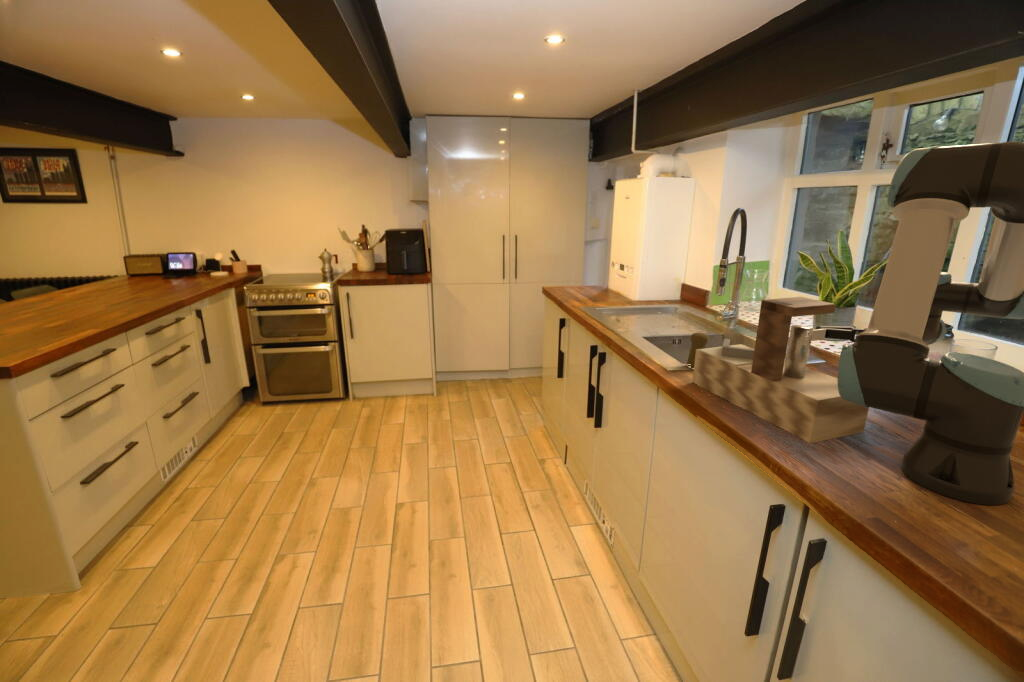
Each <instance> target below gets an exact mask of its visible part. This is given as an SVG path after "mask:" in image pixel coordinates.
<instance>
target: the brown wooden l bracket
mask: <svg viewBox="0 0 1024 682" xmlns="http://www.w3.org/2000/svg"><path fill="white" fill-rule="evenodd" d="M760 303H761V304H760V308H759V309H760V311H759V318H758V323H757V329H756V330H757V331H756V336H755V344H754V348H753V349H754V356H753V363H752V370H751V373H753V374H756V375H758V376H761V377H763V378H765V379H768V380H770V381H773V382H774V381H780V380H781V379H782V373H783V367H784V361H785V360H786V355H787V349H788V343H789V337H790V331H791V326H792V319H793V318H794V317H803V316H805V317H806V316H816V315H824V314H825V315H826V314H834V313H835V311H836V306H837V305H836V304H837V303H833V302H828V301H823V300H818V299H813V298H809V297H808V298H807V297H804V296H796V297H784V298H783V297H782V298H771V299H762V300H761V301H760Z"/></svg>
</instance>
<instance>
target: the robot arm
mask: <svg viewBox="0 0 1024 682" xmlns="http://www.w3.org/2000/svg"><path fill="white" fill-rule="evenodd" d="M886 199H887V200H886V204H887V206H888V207H889V208H891V209H893V210H892V215H893V216H894V218H896V219H897V221H898V224H897V227H896V231H895V235H894V238H893V242H892V245H891V248H890V251H889V255H888V259H887V261H886V266H885V267H884V272H883V276H882V279H881V282H880V285H879V289H878V292H877V295H876V298H875V303H874V306H873V309H872V312H871V316H870V320H869V323H868V326H867V328H866V327H864V328H858V327H856V326H855V325H850V326H849V325H848V326H843V325H841V326H840V325H839V326H835V325H816V327H815V329H813V333H812V338H811V342H815V341H823V340H825V339H835V340H843V341H845V340H846V341H850V342H851V343H845V344H843V345H842V348H841V351H840V355H839V359H838V366H837V377H836V378H837V384H838V392H839V395H840V396H841V397H842V398H843V399H844V400H846V401H848V402H852V403H856V404H859V405H863V406H864V407H866V408H867V407H869V408H873V409H875V410H878V411H883V412H889V413H891V414H897V415H900V416H905V417H908V418H909V417H910V418H912V419H913V418H914V419H917V420H922V421H924V422H925V424H924V427H923V430H922V433H921V434H920V436H919V437H918V438H917V439H916V440H915V442H914V443H913V444H912V445H911V446H910V448H909V450H908V451H907V452H906V453H905V454H904V455H903V459H902V462H901V470H902V472H903V473H904V474H905V475H906V476H907V477H908V478H909V479H910V480H912V481H914V482H915V483H917V484H918V485H920V486H922V487H925V488H926V489H928V490H930V491H933V492H935V493H937V494H941V496H942V495H943V496H945V497H949V498H951V499H952V498H953V499H955V500H958V501H962V502H966V503H973V504H979V505H988V506H996V505H997V506H999V505H1000V506H1001V505H1004V504H1007V503H1010V501H1011V500H1012V498H1013V495H1014V492H1015V490H1016V489H1015V488H1016V487H1015V481H1014V480H1015V479H1014V474H1013V467H1012V460H1011V453H1012V450H1013V447H1014V445H1015V441H1016V437H1017V434H1018V431H1019V428H1020V425H1021V422H1022V418H1023V416H1024V371H1022V370H1020V369H1018V368H1016V367H1014V366H1012V365H1010V364H1007V363H1004V362H1001V361H999V360H995V359H992V358H988V357H984V356H980V355H975V354H971V353H966V352H965V353H964V352H963V353H961V352H953V351H952V352H946V353H944V354H943V356H941V357H940V359H939V358H933V357H928V356H929V353H930V346H929V345H933V344H936V343H939V342H941V341H943V339H944V338H945V337H946V335H947V331H948V330H947V326H946V322H945V321H944V320H942V315H943V312H948V313H949V312H950V313H959V314H965V315H967V314H968V315H976V316H981V317H983V316H984V317H992V318H996V319H997V318H998V319H1010V320H1011V319H1014V320H1023V319H1024V142H1022V141H1021V142H1020V141H1003V142H994V143H993V142H991V143H979V144H978V143H976V144H963V145H961V144H960V145H949V146H948V145H946V146H940V145H934V146H931V147H923V148H916V149H912V150H910V151H909V152H908V153H906V154H905V155H904V156H903V157H902V159H901V160H900V162H899V163H898V165H897V168H896V169H895V172H894V174H893V176H892V179H891V181H890V186H889V189H888V193H887V197H886ZM971 208H990V212H991V214H992V216H993V217H994V222H993V225H992V230H991V232H990V237H989V241H988V245H987V248H986V249H987V250H986V253H985V256H984V260H983V261H984V262H983V266H982V269H981V273H980V277H979V280H978V283H977V282H966V281H965V282H963V281H957V280H953V279H952V274H951V273H950V272H945V271H943V267H944V263H945V261H946V256H947V253H948V249H949V246H950V242H951V239H952V236H953V233H954V229H955V226H956V224H958V223H959V222H961V221H964V220H965V219H966V218H967V217H968V216H969V214H970V211H971Z"/></svg>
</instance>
